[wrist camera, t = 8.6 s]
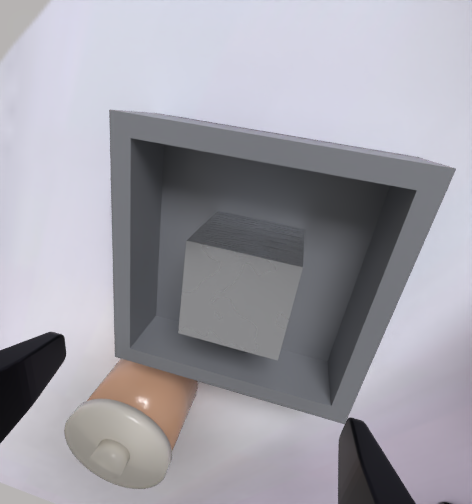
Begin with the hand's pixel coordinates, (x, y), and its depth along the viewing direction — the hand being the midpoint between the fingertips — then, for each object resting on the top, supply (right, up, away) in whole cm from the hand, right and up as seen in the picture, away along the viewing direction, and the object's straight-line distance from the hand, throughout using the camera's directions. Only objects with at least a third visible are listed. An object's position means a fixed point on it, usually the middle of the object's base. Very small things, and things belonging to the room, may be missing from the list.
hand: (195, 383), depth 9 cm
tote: (+2, +4, +10) cm, 11 cm away
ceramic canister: (-5, -6, +16) cm, 18 cm away
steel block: (+2, +4, +9) cm, 10 cm away
